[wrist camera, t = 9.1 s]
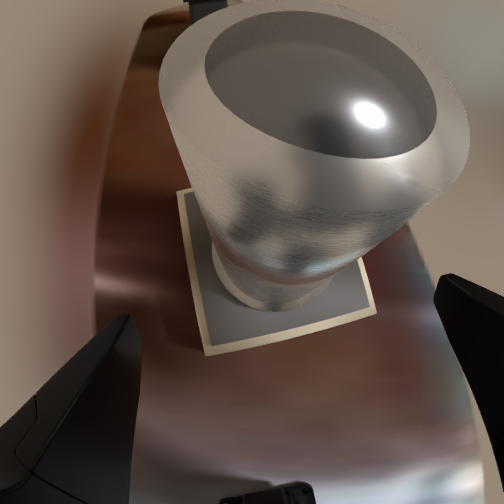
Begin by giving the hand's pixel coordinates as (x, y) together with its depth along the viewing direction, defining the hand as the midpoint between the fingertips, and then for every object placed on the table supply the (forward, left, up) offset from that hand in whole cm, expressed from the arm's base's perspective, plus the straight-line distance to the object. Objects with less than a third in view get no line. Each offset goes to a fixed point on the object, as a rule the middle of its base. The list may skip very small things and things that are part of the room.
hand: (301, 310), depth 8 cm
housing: (+4, -1, -8) cm, 9 cm away
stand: (+4, -1, -11) cm, 12 cm away
